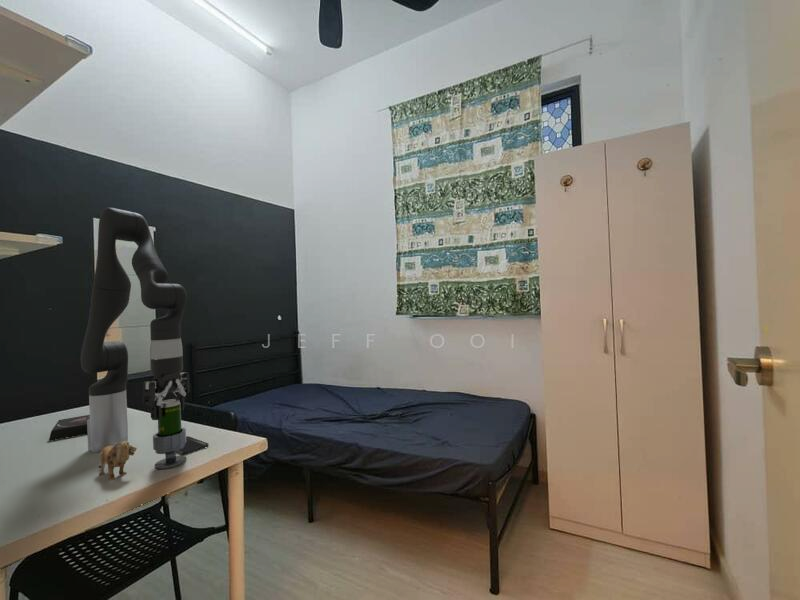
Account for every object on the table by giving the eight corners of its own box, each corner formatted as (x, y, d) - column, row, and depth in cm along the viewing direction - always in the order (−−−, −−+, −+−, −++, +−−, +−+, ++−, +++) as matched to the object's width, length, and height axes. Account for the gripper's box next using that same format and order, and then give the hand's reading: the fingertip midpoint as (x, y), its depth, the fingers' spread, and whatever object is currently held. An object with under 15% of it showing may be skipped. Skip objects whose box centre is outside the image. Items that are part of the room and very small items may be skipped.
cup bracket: (147, 469, 95) (146, 437, 95) (168, 457, 103) (167, 427, 103) (173, 469, 94) (171, 437, 94) (192, 457, 102) (191, 427, 102)
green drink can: (186, 441, 101) (185, 398, 101) (172, 449, 96) (170, 403, 96) (168, 441, 102) (167, 398, 102) (153, 448, 96) (152, 404, 96)
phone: (187, 435, 119) (209, 443, 110) (187, 439, 119) (210, 447, 110) (160, 443, 112) (182, 453, 104) (160, 447, 112) (182, 457, 104)
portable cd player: (57, 430, 136) (56, 420, 136) (114, 420, 146) (114, 410, 146) (49, 442, 122) (48, 431, 123) (113, 430, 133) (112, 419, 133)
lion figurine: (140, 474, 93) (139, 439, 93) (116, 483, 88) (115, 446, 88) (109, 465, 99) (108, 432, 100) (86, 474, 95) (85, 439, 95)
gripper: (173, 352, 106) (175, 407, 106) (132, 360, 92) (134, 423, 92) (196, 351, 106) (198, 407, 105) (158, 359, 91) (160, 423, 91)
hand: (168, 414), depth 99 cm, fingers open, 8 cm apart
